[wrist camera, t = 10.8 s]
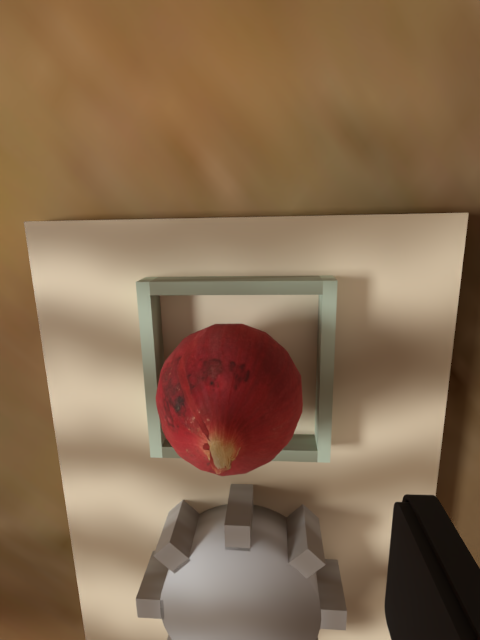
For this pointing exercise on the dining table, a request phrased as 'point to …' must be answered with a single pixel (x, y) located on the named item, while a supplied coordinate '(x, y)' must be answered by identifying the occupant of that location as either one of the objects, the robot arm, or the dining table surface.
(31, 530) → the dining table surface
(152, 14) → the dining table surface
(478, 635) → the robot arm
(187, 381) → the onion
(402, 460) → the gear board
